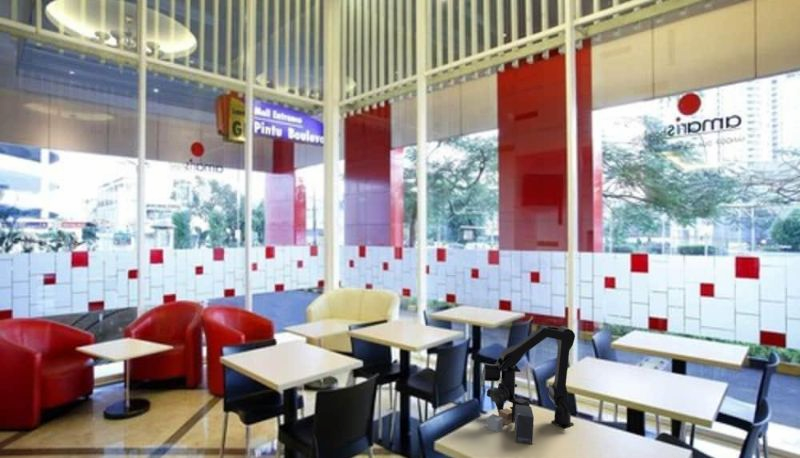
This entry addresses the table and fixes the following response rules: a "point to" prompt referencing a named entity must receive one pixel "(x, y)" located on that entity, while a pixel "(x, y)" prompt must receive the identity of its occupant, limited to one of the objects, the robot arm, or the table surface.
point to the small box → (523, 424)
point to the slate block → (495, 423)
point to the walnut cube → (506, 416)
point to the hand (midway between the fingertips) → (506, 419)
